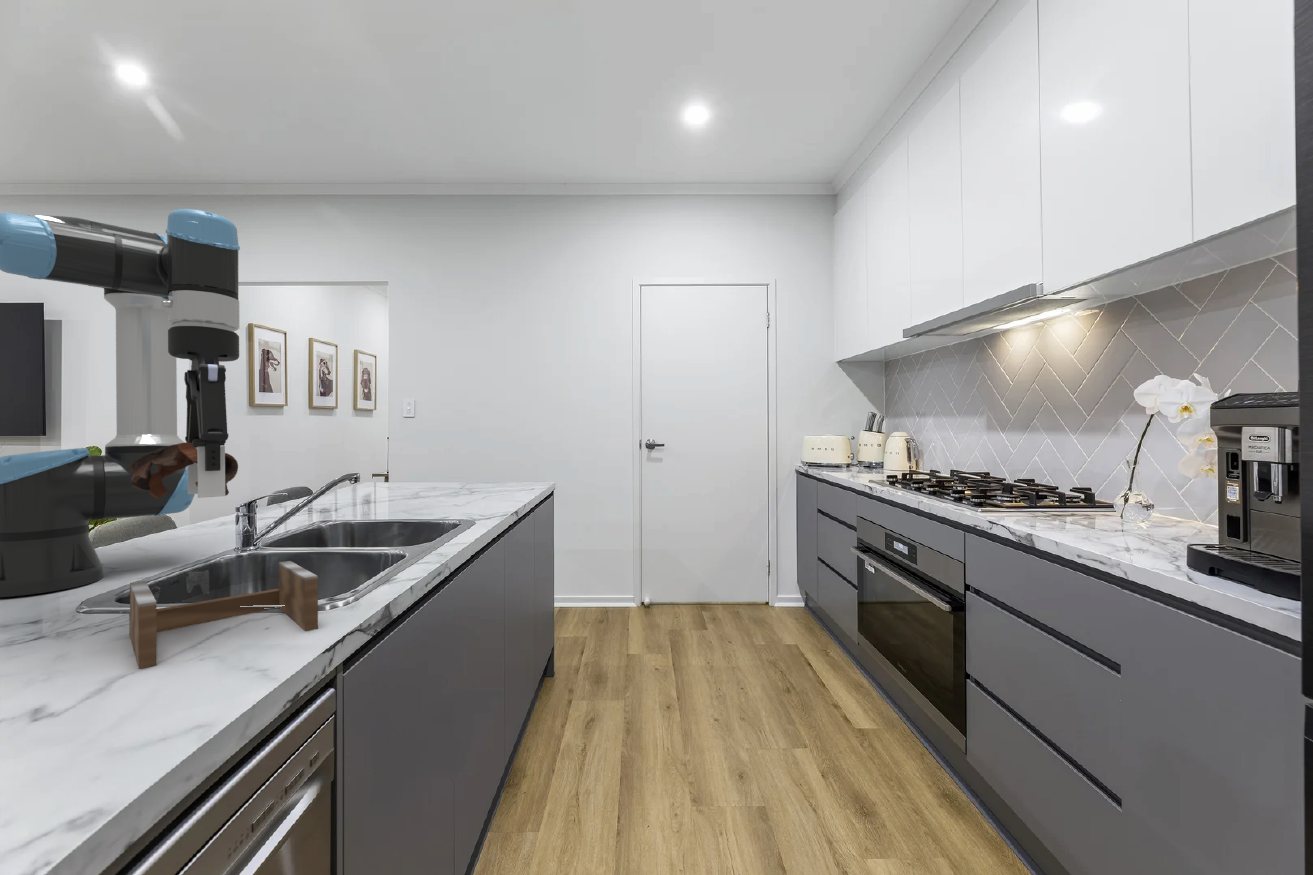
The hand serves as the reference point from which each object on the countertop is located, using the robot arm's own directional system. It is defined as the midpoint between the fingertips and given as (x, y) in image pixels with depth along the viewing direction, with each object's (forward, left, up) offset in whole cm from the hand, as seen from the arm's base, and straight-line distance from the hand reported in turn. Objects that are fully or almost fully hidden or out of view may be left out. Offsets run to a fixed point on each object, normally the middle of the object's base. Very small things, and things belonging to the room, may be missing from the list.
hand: (205, 494), depth 75 cm
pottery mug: (0, 0, -1) cm, 1 cm away
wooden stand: (+3, +2, -19) cm, 19 cm away
